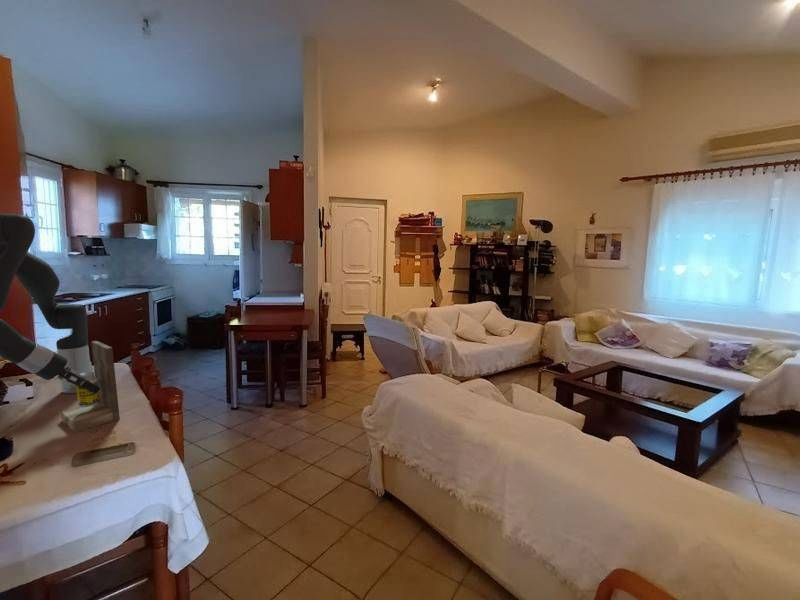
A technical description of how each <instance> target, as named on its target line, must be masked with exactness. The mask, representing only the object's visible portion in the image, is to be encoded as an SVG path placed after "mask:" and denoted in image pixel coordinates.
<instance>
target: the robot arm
mask: <svg viewBox="0 0 800 600" xmlns="http://www.w3.org/2000/svg"><path fill="white" fill-rule="evenodd" d="M35 235H36V226H35V224H34V222H33V221H32V219H31V218H30V217H29V216H27V215H25V214H24V215H23V214H18V213H17V214H16V213H14V214H13V213H0V312H1V311H2V310H3V309H4V308H5V306H6V304H7V300H8V298H9V293H10V290H11V286H12V284H13V280H14V278H15V276H16V278H17V280H18V281H19V282H20V284H21V285H22V287H23V288H24V289H25V290H26V291H27V292H28V294H29V295H30V296H31V298H32V300H34V302H35V303H36V305H37V306H38V308H39V310H40V312H41V314H42V316H43V317H44V319H45V321H46V322H47V325H49V326H50V328H52V329H56V330H71V329H72V330H71V334H70V335H67V336H64V337H62V338H59V339H57V341H56V342H55V345H56V346H55V347H56V352H55V351H54V350H51V349H50V348H48V347H45V346H44V345H41V344H39V343H36V342H35V341H32V340H31V339H29V338H28V337H25V336H23V335H21V334H20V333H19V332H18V331H17V330H16V329H14V327H12V326H11V325H10V324H9V323H7V322H6V321H5V320H4V319H1V318H0V357H1V358H2V359H5V360H7V361H9V362H11V363H13V364H15V365H17V366H18V367H19V368H21V369H23V370H25V371H26V372H29V373H31V374H33V375H35V376H36V377H39V378H41V379H44V380H45V381H50V380H53V379H54V378H55V377H57V379H59V380H60V383H61V384H60V385H61V390H62V393H63V394H68V393H69V394H77V391H76V385H77V386H79V387H81V388H82V389H86V390H88V391H90V392H92V393H94V394H96V393H97V392H98V391H99V390H100V387H98V386H96V385H94V384H92V383H91V382H90V381H89V380H88V381H87V380H86V379H84V377H83V376H82V375H80V374H81V373H85V372H94V369H93V365H92V364H93V361H91V359H90V358H91V357H90V350H89V342H88V340H89V339H88V338H89V333H88V332H89V331H88V329H89V328H88V312H87V310H86V307H85V306H84V305H83V304H81V303H79V304H78V303H76V304H75V303H72V304H71V303H70V304H69V303H68V304H67V303H66V304H59V303H57V301H56V299H55V296H56V295H57V293H58V290H59V288H60V279H59V276H58V275H57V273H55V270H54V269H53V268H52V267H51V265H50V264H49V263H47V262H46V261H45V260H43V259H42V258H40V257H38V256H37V255H35V254H33V253H31V252H30V251H29V249H30V248H31V246H32V244H33V242H34V239H35ZM82 381H85V383H84V384H83V385H80V383H81V382H82Z"/></svg>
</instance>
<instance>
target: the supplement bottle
mask: <svg viewBox="0 0 800 600" xmlns="http://www.w3.org/2000/svg"><path fill="white" fill-rule="evenodd" d="M80 375H82V376H83V377H84V379H86V380H87V381H88V380H89V381H90V382H91V383H92V384H94V385H96V386H98V379H97V378H95V371H93V372H85V373H81V374H80ZM84 383H85V381H82V382H81V383H80V385H83V384H84ZM76 391H77V393H76V398H77V405H78V406H77V407H89V406H93V405H96V404H98V403H99V401H100V398H99V391H98V392H97V393H96V394H94V393H92V392H90V391H88V390H86V389H82V388H81V387H79V386H77V385H76Z"/></svg>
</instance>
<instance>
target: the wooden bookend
mask: <svg viewBox="0 0 800 600" xmlns="http://www.w3.org/2000/svg"><path fill="white" fill-rule="evenodd" d="M90 343H91V344H90V345H91V353H92V354H91V355H92V363H93V372H94V377H95V378H97V379H98V387H100V390H99V398H100V401H99V403H98V404H96V405H93V406H89V407H80V406H77V407H73V408H71V409H65V410H63V411H60V413H61V421H62V422H63V423H64V424H65V425H67V427H68V428H69V429H71V430H72V431H73V432H74V433H79V432H82V431H85V430H87V429H92V428H94V426H95V427H97V425H98V426H101V425H104V424H103V423H105V424H107V422H108V423H111V422H117V421H119V419H121V417H120V408H119V400H118V399H119V397H118V389H117V380H116V370H115V361H114V360H115V359H114V350H113V347H112V346H109V345H107V344H105V343H103V342H100V341H98V340H93V341H92V340H91V341H90ZM110 421H111V422H110ZM100 424H101V425H100ZM91 427H92V428H91Z"/></svg>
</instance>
